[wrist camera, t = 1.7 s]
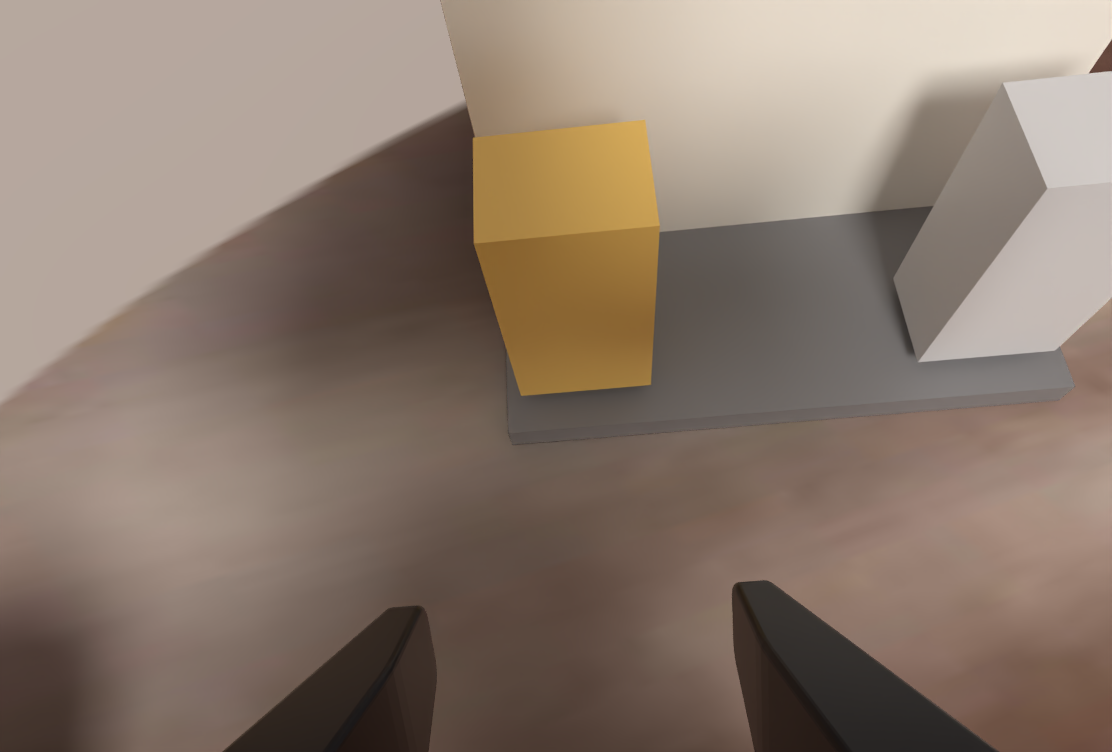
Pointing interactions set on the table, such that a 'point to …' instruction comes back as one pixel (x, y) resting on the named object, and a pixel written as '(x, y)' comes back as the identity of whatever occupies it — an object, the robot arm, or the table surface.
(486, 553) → the table surface
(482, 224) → the amber block
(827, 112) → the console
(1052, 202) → the light grey block
